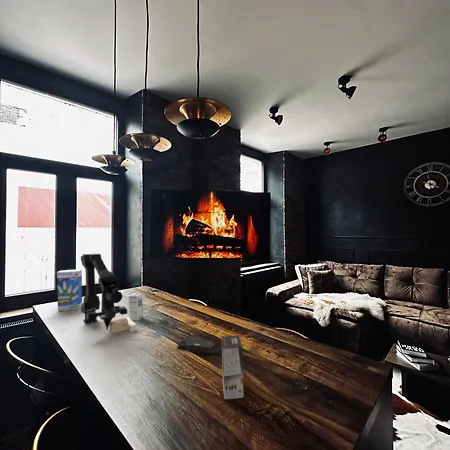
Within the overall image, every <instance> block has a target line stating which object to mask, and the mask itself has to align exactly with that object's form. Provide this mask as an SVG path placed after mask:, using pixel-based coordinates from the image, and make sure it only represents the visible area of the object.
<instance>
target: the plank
mask: <svg viewBox="0 0 450 450" xmlns="http://www.w3.org/2000/svg"><path fill="white" fill-rule="evenodd" d="M125 318H126V319H127V320H128V330H127V331H129V332H131V333H132V332H135V331H137V324H136V323H135V322H134V320H131V319H130V318H129V316H127V317H125Z"/></svg>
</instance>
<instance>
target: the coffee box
mask: <svg viewBox="0 0 450 450" xmlns="http://www.w3.org/2000/svg"><path fill="white" fill-rule="evenodd" d="M240 338H241V337H240V335H235V334H234V335H227V336H221V348H222V353H221V367H222V370H221V371H222V375H221V376H222V389H223V399H224V400H232V399H233V400H234V399H243V398H244V393H245V392H244V362H243V361H244V359H243V358H244V357H243V355H244V354H243V345H242V341H241V339H240Z"/></svg>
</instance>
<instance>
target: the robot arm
mask: <svg viewBox="0 0 450 450" xmlns="http://www.w3.org/2000/svg"><path fill="white" fill-rule="evenodd" d="M80 262H81V265H82V266H83V268H84V269H85V290H86V291H85V295H84V297H83V298H82V306H81V308H80V312H81V313H83V314H84V319H83V322H84V324H85V325H86V324H91V323H95V322H98V321H99V320H98V319H97V318H100V320H101V321H102V320H103V323H104V326H105V329H106V331H109V328H110V327H109V324H110V322H111V320H114V319H115V318H116V315H117V314H120V315H128V308H127V307H126V306H123V305H122V306H120V305H115V304H118V303H120V302H121V301H122V300H123V293H122V292H121V291H119V287H120V286H119V282H118V279H117V278H116V276H115V274H114V273H113V272H112V271H111V270H109V269H108V268H107V266H106V264H105V263H104V261H103V258H102V255H101V253H96V252H91V253H90V252H89V253H88V252H87V253H83V254H82V255H81V256H80ZM95 271H96V272H97V275H98V280H97V281H98V285H99V287H100V290H101V301H100V296H99V295H97V293H96V274H95V273H96V272H95ZM100 306H101V309H100ZM97 310H98V311H99V310H101V311H99V312H96V311H97Z"/></svg>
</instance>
